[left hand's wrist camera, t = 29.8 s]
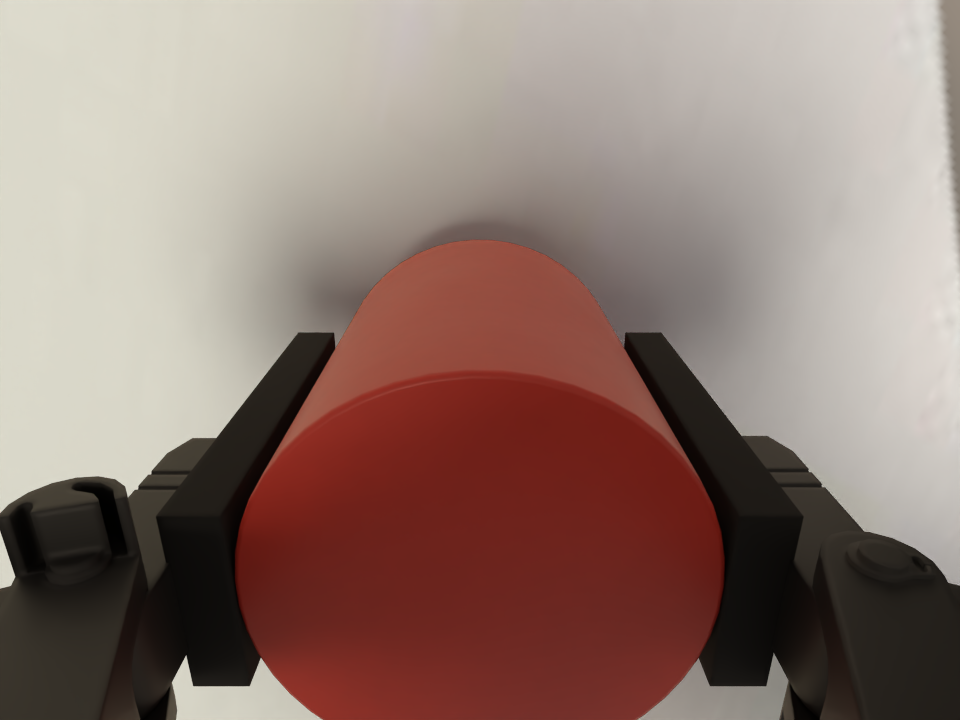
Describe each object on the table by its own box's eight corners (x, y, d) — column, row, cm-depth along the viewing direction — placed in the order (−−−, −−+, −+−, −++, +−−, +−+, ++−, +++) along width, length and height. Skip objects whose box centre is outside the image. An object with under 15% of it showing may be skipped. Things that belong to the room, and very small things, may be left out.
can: (532, 524, 16) (569, 818, 10) (304, 424, 15) (168, 676, 9) (666, 317, 14) (832, 509, 8) (414, 187, 13) (349, 275, 7)
